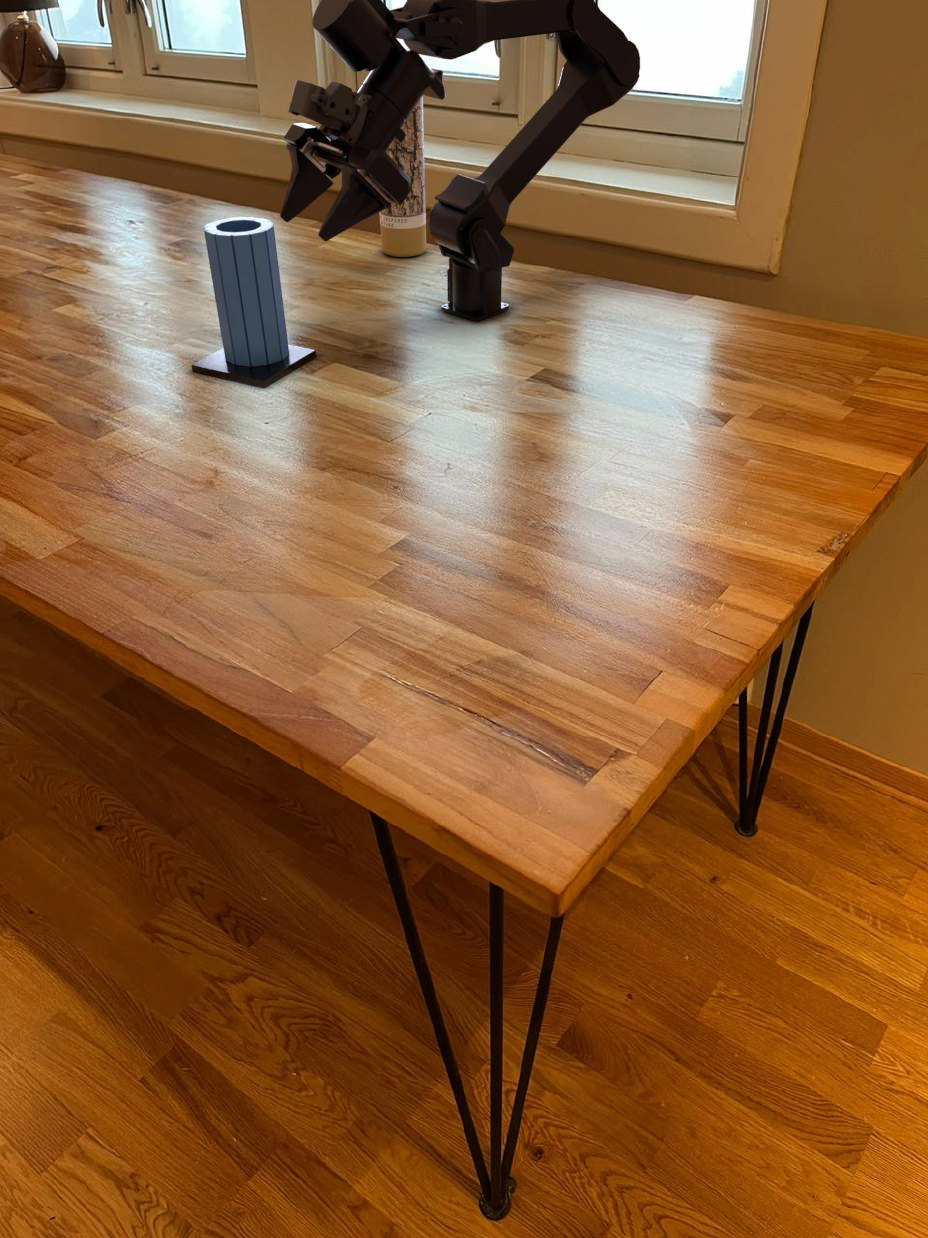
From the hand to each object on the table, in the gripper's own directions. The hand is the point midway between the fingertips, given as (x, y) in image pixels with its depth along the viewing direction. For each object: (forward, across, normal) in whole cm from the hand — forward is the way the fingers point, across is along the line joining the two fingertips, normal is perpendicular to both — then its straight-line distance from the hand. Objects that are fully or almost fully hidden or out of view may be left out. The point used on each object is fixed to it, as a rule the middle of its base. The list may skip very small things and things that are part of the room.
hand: (301, 228), depth 102 cm
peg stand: (+15, 0, +4) cm, 16 cm away
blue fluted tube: (+14, -1, +4) cm, 15 cm away
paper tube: (-11, -27, +30) cm, 42 cm away
